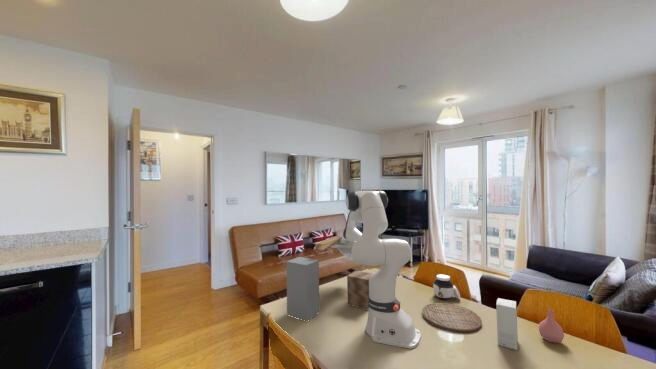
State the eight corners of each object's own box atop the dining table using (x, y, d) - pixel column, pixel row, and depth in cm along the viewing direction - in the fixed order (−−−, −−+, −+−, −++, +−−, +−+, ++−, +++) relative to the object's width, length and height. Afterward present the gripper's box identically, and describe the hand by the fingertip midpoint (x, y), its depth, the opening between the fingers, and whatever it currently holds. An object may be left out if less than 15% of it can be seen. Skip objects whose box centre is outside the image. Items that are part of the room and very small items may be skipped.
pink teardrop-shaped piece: (555, 348, 98) (554, 316, 98) (533, 337, 105) (533, 307, 105) (569, 344, 100) (568, 313, 100) (547, 333, 107) (547, 304, 107)
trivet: (491, 336, 106) (491, 332, 106) (426, 330, 111) (426, 326, 111) (470, 308, 131) (470, 305, 131) (418, 304, 136) (418, 301, 136)
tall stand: (319, 313, 127) (318, 259, 127) (307, 322, 118) (306, 265, 119) (299, 307, 133) (299, 256, 133) (287, 315, 125) (286, 261, 125)
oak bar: (342, 242, 150) (342, 236, 150) (322, 250, 131) (321, 244, 131) (336, 241, 152) (336, 236, 152) (315, 249, 133) (315, 243, 133)
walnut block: (376, 302, 138) (375, 274, 138) (369, 309, 130) (368, 279, 130) (355, 297, 144) (355, 270, 145) (347, 304, 136) (347, 275, 136)
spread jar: (431, 295, 146) (430, 274, 147) (445, 291, 151) (445, 271, 151) (449, 303, 136) (448, 281, 136) (464, 299, 140) (463, 278, 141)
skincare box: (517, 351, 96) (516, 309, 96) (496, 344, 100) (495, 304, 100) (517, 340, 103) (517, 301, 103) (498, 334, 107) (497, 296, 107)
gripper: (331, 240, 165) (321, 232, 154) (361, 244, 154) (353, 235, 144) (329, 250, 162) (319, 243, 152) (359, 254, 152) (350, 246, 141)
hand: (335, 239), depth 148 cm, fingers closed on oak bar, 4 cm apart
